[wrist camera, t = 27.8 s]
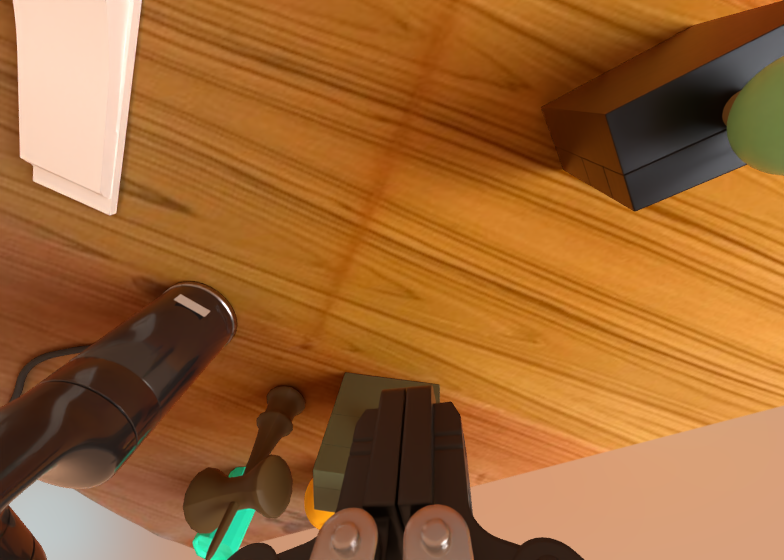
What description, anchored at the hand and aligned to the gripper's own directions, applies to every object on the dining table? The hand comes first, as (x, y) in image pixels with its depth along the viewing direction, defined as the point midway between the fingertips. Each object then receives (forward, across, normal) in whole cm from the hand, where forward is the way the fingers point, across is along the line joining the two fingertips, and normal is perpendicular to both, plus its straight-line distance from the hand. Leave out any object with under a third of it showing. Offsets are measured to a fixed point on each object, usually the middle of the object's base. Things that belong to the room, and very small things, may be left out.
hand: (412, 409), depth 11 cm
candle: (+29, +35, +40) cm, 61 cm away
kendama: (+29, +23, +24) cm, 44 cm away
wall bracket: (+25, +29, -17) cm, 42 cm away
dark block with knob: (+28, -18, -4) cm, 34 cm away
